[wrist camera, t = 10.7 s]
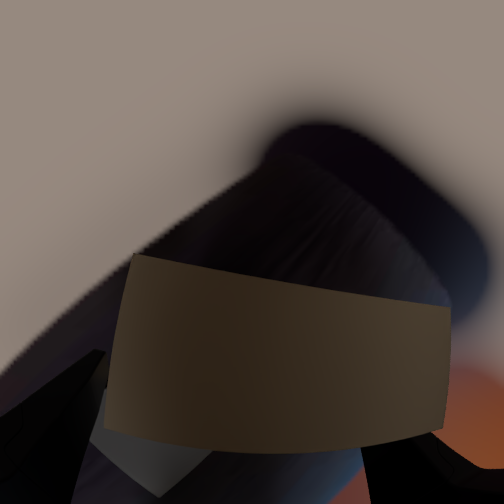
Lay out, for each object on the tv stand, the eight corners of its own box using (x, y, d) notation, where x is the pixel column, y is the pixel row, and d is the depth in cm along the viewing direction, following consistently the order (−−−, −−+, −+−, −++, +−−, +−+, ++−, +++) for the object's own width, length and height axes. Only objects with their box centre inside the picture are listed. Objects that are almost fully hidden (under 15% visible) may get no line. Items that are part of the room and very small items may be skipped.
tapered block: (273, 323, 17) (444, 246, 5) (263, 403, 15) (429, 485, 3) (180, 308, 16) (158, 174, 4) (168, 391, 14) (103, 501, 2)
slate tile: (299, 346, 18) (306, 345, 17) (160, 490, 12) (159, 498, 11) (221, 275, 18) (223, 269, 17) (79, 419, 13) (72, 422, 12)
